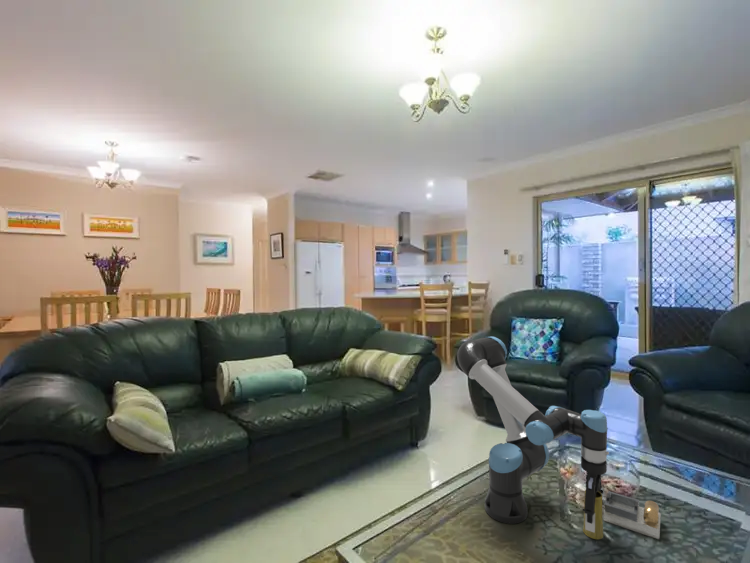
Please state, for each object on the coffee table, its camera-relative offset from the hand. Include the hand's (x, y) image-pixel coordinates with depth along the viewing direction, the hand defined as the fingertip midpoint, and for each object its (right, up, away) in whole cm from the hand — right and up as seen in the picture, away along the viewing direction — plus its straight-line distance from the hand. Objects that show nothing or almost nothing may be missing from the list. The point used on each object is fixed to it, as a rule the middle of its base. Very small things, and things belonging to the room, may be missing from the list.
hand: (593, 520), depth 133 cm
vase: (0, -5, 0) cm, 5 cm away
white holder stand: (+17, -4, +5) cm, 18 cm away
